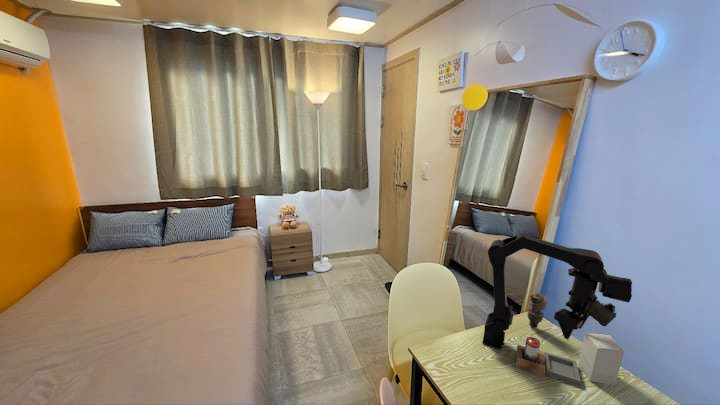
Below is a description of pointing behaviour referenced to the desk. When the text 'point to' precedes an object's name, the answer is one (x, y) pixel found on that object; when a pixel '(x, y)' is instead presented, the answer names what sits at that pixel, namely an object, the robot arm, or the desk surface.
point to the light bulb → (536, 309)
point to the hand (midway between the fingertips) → (572, 333)
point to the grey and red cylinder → (531, 349)
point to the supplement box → (600, 358)
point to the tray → (562, 368)
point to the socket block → (530, 362)
